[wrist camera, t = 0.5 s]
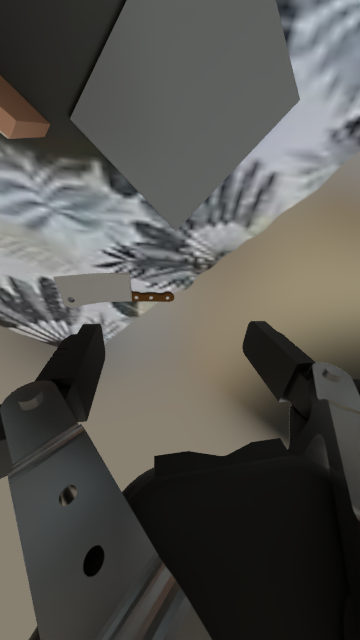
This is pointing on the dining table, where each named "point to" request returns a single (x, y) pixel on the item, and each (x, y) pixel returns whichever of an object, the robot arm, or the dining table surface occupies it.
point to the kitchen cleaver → (103, 289)
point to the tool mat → (186, 95)
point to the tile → (19, 115)
